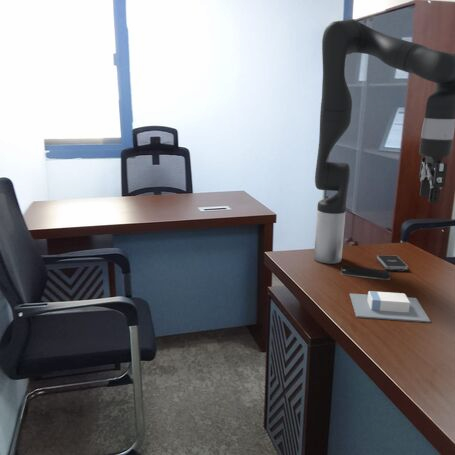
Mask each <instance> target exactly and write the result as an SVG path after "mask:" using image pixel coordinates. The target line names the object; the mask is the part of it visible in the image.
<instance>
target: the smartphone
mask: <svg viewBox="0 0 455 455" xmlns="http://www.w3.org/2000/svg"><path fill="white" fill-rule="evenodd" d="M390 272H391V271H386V270H385V269H376V268H375V269H374V268H366V267H356V266H345V265H344V266H341V269H340V274H341V275H342V276H349V277H356V278H357V277H358V278H366V279H374V280H382V281H391V278H392V277H391V273H390Z"/></svg>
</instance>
